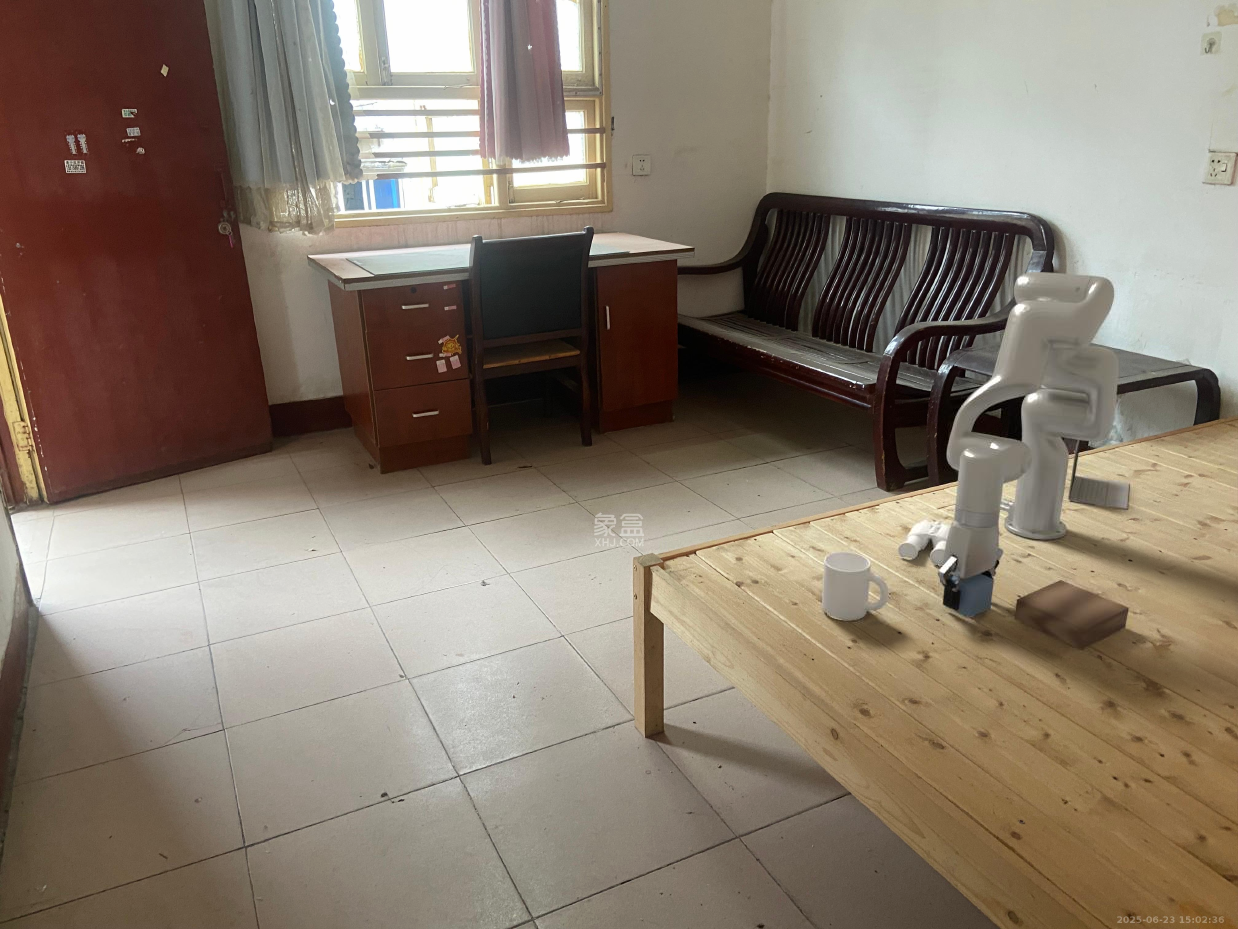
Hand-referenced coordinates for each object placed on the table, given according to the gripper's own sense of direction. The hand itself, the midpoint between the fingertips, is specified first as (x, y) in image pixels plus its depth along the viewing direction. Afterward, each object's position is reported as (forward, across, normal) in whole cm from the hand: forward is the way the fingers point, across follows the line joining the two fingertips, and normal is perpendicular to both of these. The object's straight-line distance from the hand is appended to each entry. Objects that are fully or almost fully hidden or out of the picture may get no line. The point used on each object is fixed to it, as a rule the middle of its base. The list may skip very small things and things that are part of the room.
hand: (967, 600), depth 169 cm
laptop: (+2, -72, -18) cm, 74 cm away
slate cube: (+1, 0, 0) cm, 1 cm away
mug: (+2, +19, -10) cm, 21 cm away
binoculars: (+2, -15, -20) cm, 25 cm away
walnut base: (+1, -10, +14) cm, 17 cm away
